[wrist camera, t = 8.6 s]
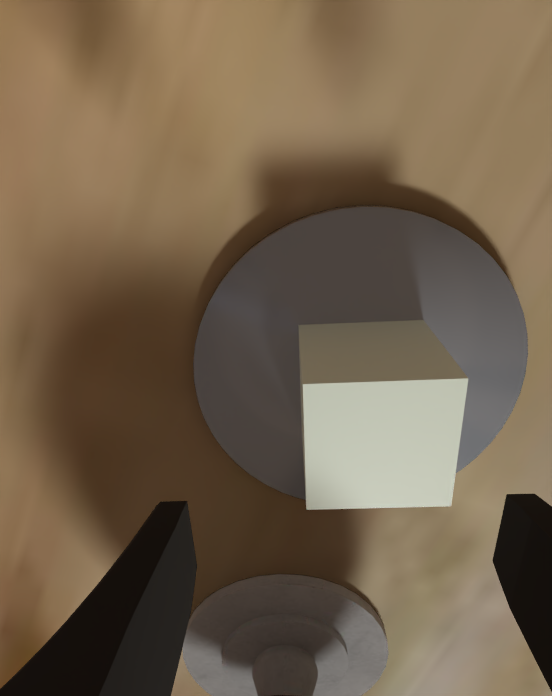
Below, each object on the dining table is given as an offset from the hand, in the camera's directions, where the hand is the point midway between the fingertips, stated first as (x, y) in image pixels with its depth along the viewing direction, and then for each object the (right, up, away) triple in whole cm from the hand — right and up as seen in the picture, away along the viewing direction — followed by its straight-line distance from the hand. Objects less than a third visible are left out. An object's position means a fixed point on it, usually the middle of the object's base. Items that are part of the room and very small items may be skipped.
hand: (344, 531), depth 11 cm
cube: (+2, +3, +9) cm, 10 cm away
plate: (+2, +3, +10) cm, 11 cm away
